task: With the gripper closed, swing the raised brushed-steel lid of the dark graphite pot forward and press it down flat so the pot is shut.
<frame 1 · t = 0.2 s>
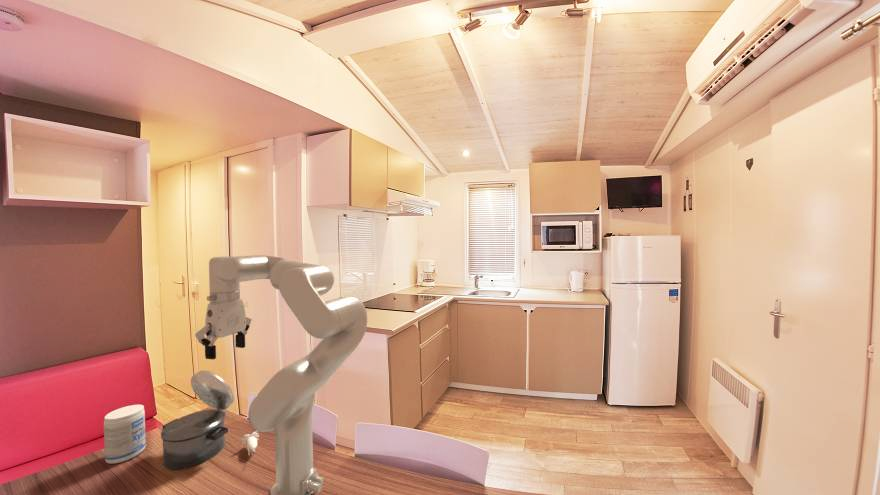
hand: (226, 352, 93), 37 cm above the table, tool pointing down, fingers open, 9 cm apart
supplement tub: (126, 455, 101), on the table
white toy bomb: (252, 453, 101), on the table
pot lid: (214, 388, 108), point 18 cm above the table, hinge at 70.0°
pot: (195, 452, 102), on the table
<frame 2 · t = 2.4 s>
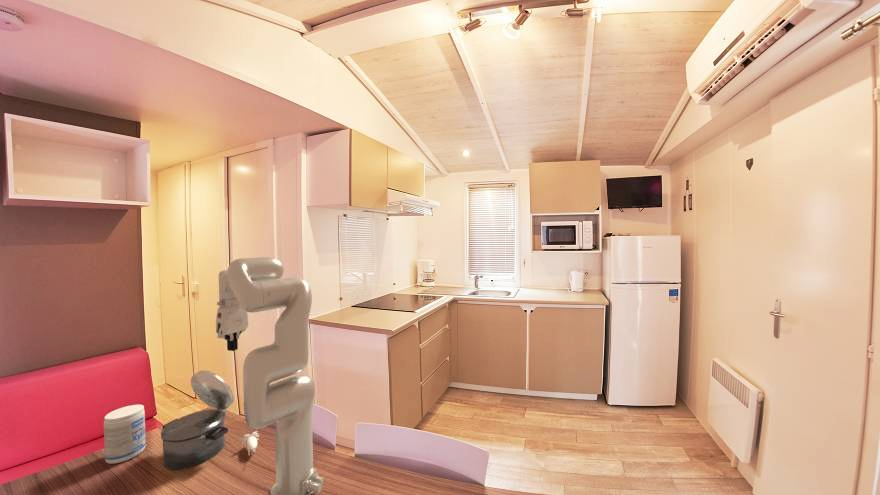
hand: (232, 349, 116), 30 cm above the table, tool pointing down, fingers closed
nothing on the table moved.
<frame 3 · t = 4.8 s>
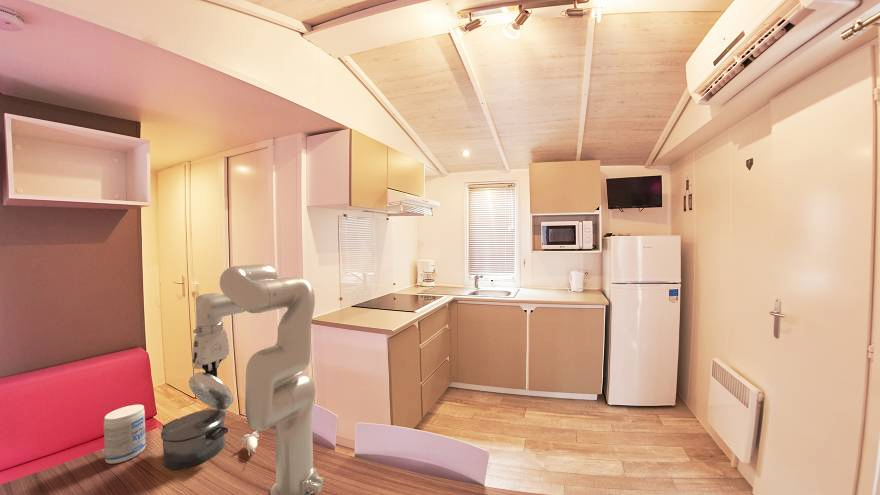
hand: (211, 380, 107), 22 cm above the table, tool pointing down, fingers closed
pot lid: (213, 389, 108), point 18 cm above the table, hinge at 66.9°, touching gripper
everything else where it was.
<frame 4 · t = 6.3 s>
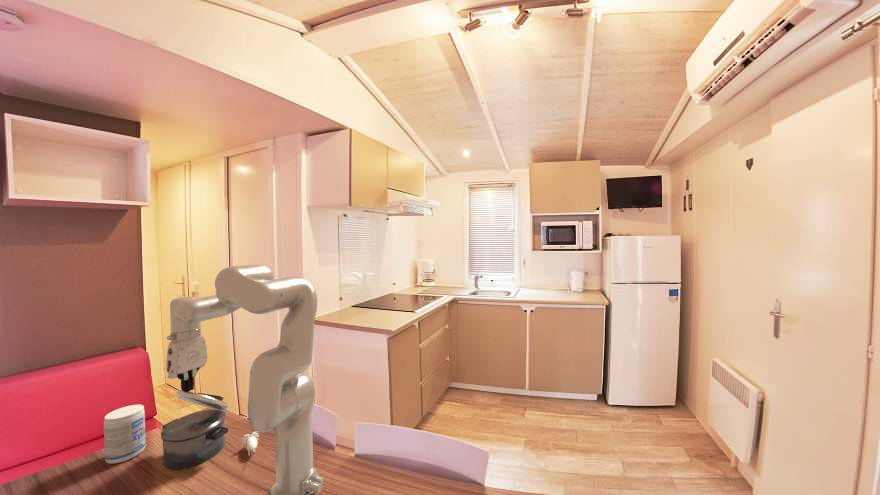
hand: (187, 389, 100), 22 cm above the table, tool pointing down, fingers closed
pot lid: (204, 398, 105), point 17 cm above the table, hinge at 42.7°, touching gripper
everything else where it was.
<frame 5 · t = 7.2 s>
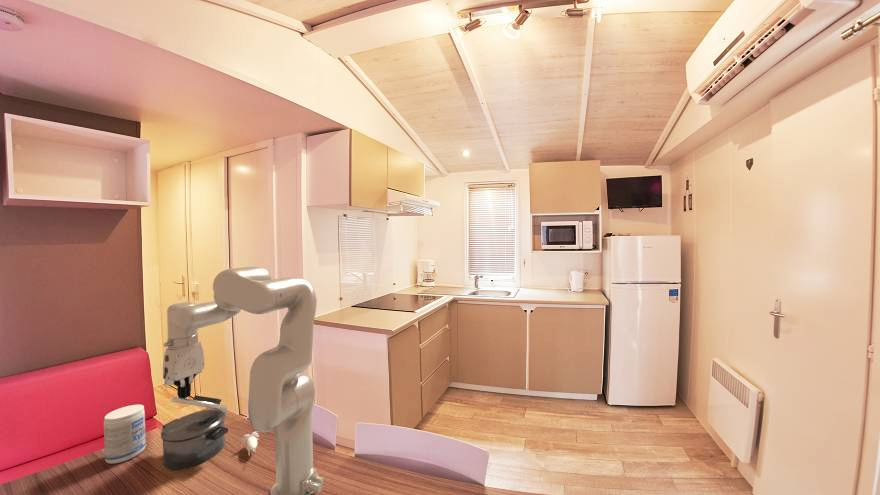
hand: (184, 396, 99), 20 cm above the table, tool pointing down, fingers closed
pot lid: (201, 401, 104), point 16 cm above the table, hinge at 35.4°, touching gripper
everything else where it was.
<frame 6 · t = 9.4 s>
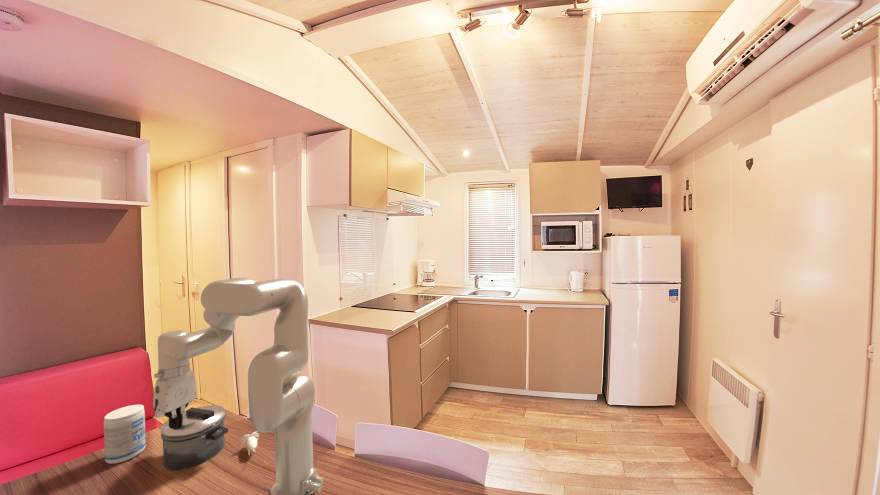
hand: (175, 427, 97), 12 cm above the table, tool pointing down, fingers closed
pot lid: (194, 417, 102), point 12 cm above the table, hinge at 0.9°, touching gripper
everything else where it was.
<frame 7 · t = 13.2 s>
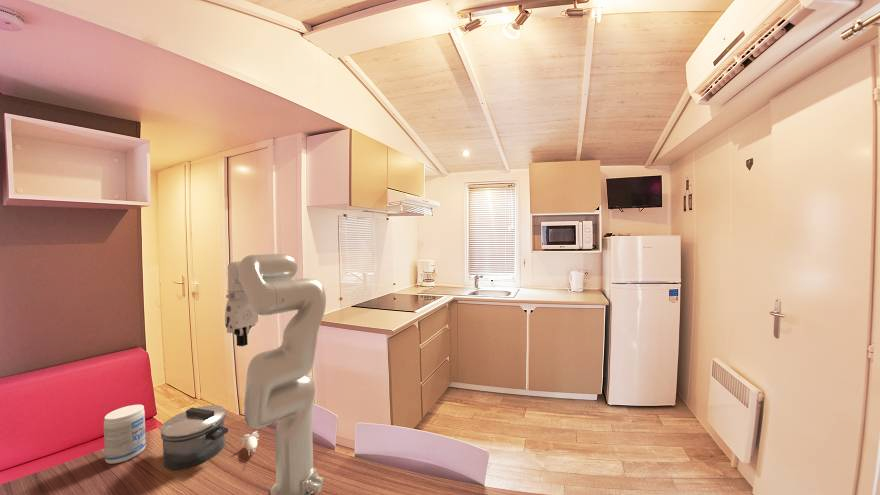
hand: (242, 345, 110), 33 cm above the table, tool pointing down, fingers closed
pot lid: (194, 418, 102), point 12 cm above the table, hinge at 0.8°
everything else where it was.
at the end: pot lid at +1° (first picture: +70°); white toy bomb moved 0.2 cm from its start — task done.
